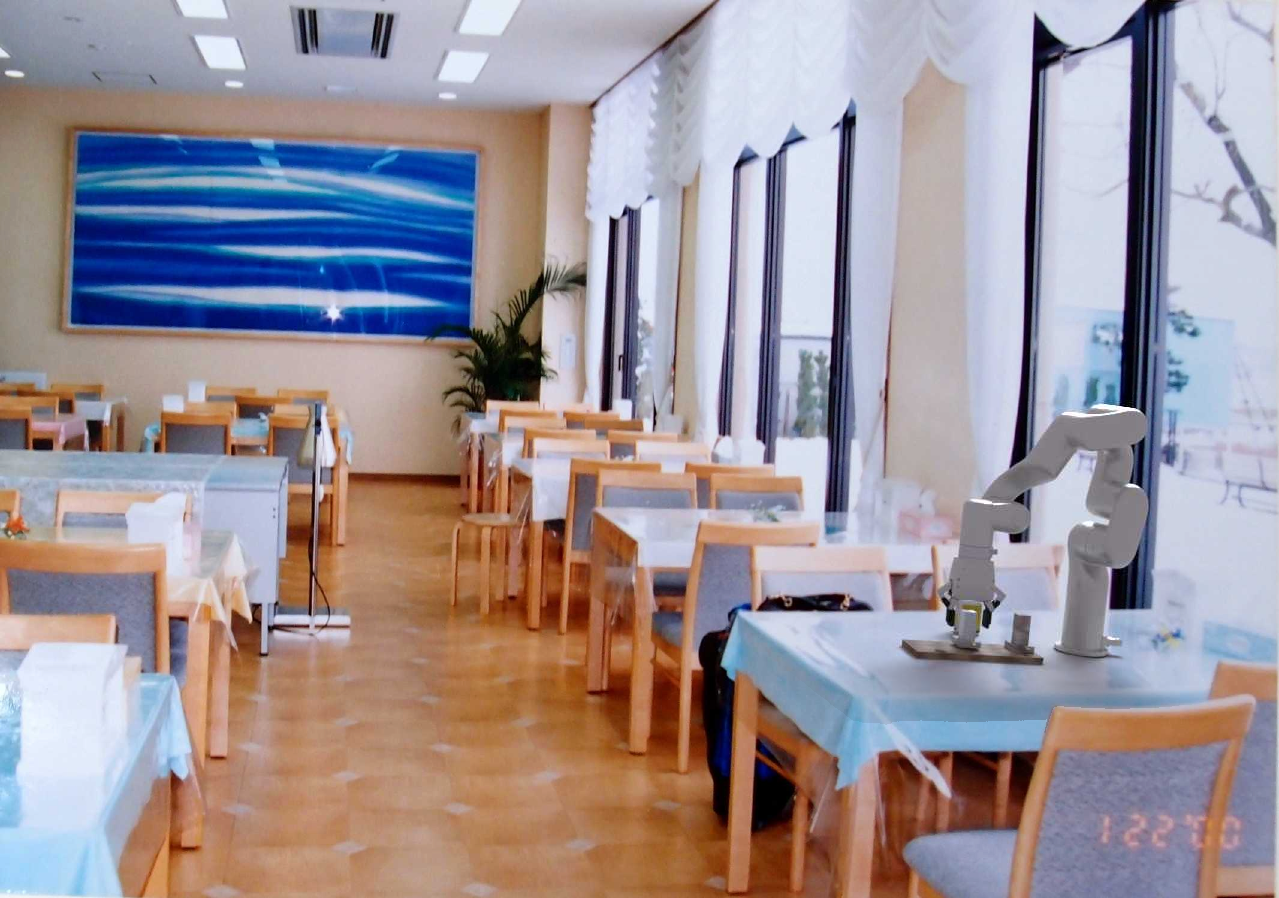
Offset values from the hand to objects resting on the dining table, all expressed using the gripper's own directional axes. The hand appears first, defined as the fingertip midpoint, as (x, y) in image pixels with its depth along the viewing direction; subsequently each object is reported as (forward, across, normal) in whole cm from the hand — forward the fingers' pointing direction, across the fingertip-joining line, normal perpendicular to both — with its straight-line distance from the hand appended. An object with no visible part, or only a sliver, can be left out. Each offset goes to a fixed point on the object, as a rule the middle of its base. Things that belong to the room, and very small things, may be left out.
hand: (967, 626), depth 332 cm
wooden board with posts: (+6, -1, +2) cm, 7 cm away
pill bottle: (+7, -8, -22) cm, 25 cm away
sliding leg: (+5, 0, +1) cm, 5 cm away
